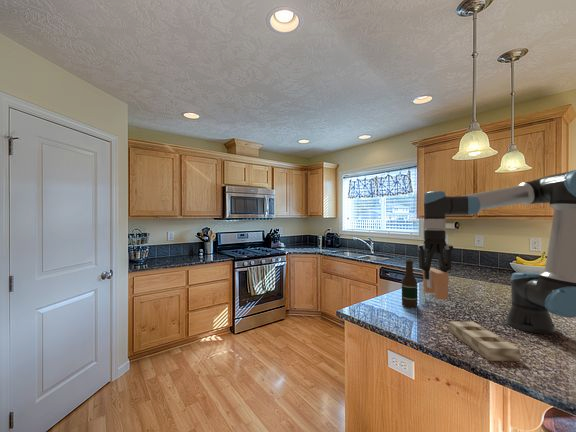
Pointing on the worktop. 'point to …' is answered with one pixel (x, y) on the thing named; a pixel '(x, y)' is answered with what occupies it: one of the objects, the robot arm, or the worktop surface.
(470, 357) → the worktop surface
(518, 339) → the worktop surface
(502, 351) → the beige flat slotted piece
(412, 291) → the beer bottle
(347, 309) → the worktop surface
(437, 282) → the orange-brown block
